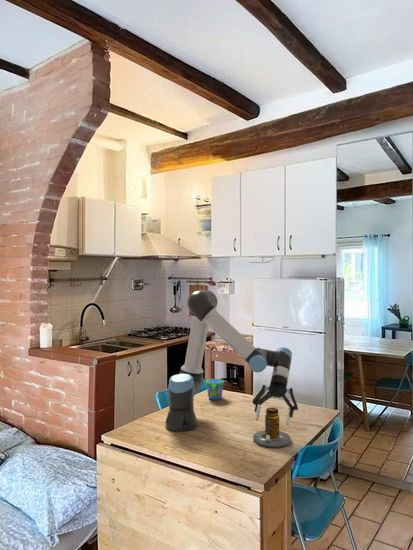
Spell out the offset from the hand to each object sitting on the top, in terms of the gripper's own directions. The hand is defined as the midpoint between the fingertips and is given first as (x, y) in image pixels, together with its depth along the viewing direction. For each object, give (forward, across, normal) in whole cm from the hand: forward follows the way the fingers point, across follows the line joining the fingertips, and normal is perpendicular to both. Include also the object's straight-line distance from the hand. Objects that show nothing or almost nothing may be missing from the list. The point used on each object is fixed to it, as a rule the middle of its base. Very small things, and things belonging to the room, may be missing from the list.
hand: (271, 421), depth 182 cm
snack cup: (-27, +46, -40) cm, 67 cm away
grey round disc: (+5, 0, -7) cm, 9 cm away
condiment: (+4, +1, -6) cm, 7 cm away
